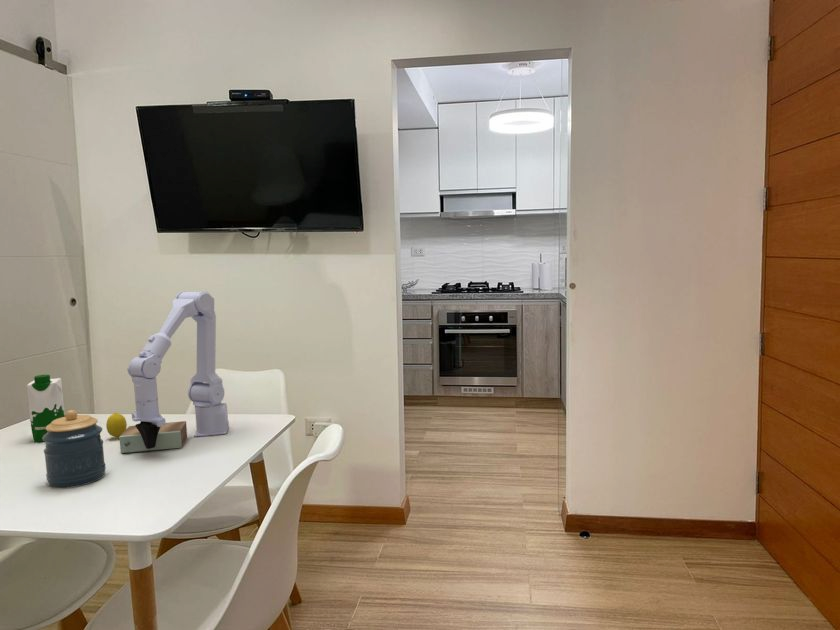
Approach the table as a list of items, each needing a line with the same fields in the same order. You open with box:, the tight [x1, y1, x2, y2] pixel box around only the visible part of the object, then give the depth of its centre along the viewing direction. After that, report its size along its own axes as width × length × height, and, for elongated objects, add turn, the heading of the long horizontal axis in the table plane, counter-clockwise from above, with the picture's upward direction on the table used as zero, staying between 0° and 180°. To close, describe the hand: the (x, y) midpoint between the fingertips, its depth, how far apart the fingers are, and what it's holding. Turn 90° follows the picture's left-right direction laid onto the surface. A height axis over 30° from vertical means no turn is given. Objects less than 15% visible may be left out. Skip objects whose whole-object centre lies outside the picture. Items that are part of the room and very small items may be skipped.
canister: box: [42, 409, 107, 489], centre depth 150 cm, size 13×13×18 cm
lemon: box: [105, 412, 128, 439], centre depth 184 cm, size 6×6×8 cm
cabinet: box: [121, 420, 188, 454], centre depth 176 cm, size 16×10×5 cm, turn 103°
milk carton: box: [26, 374, 66, 444], centre depth 186 cm, size 9×9×20 cm
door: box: [118, 431, 183, 454], centre depth 170 cm, size 16×2×5 cm, turn 102°
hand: (150, 447), depth 168 cm, fingers closed
